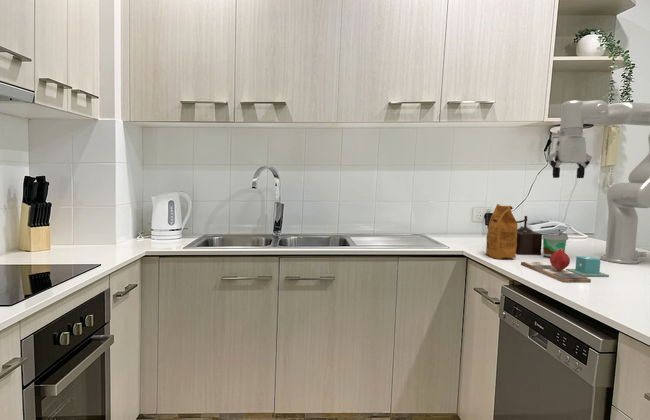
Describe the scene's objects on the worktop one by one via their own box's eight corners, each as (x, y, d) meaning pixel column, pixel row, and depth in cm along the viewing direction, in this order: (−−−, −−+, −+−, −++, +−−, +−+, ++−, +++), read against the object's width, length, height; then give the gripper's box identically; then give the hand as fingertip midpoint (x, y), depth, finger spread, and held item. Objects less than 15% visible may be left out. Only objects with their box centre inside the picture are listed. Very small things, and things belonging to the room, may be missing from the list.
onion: (545, 269, 136) (546, 246, 136) (561, 269, 137) (562, 246, 136) (556, 273, 131) (558, 249, 130) (572, 273, 131) (574, 249, 130)
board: (543, 264, 149) (544, 261, 149) (590, 282, 124) (591, 278, 124) (520, 264, 149) (521, 261, 149) (563, 282, 124) (563, 278, 124)
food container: (555, 260, 158) (557, 235, 157) (541, 257, 163) (542, 233, 162) (573, 257, 163) (575, 234, 163) (559, 255, 169) (560, 232, 168)
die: (589, 270, 138) (590, 256, 138) (599, 273, 133) (600, 259, 133) (575, 270, 138) (576, 256, 138) (584, 273, 133) (585, 259, 133)
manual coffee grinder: (529, 250, 179) (531, 211, 178) (541, 255, 168) (544, 213, 166) (495, 249, 180) (497, 211, 178) (505, 254, 169) (507, 213, 167)
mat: (589, 270, 141) (589, 268, 141) (608, 276, 132) (609, 275, 132) (565, 270, 140) (565, 268, 140) (583, 276, 131) (583, 275, 131)
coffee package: (505, 254, 169) (508, 203, 168) (518, 260, 157) (521, 205, 155) (482, 253, 170) (484, 203, 168) (494, 259, 157) (496, 205, 155)
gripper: (555, 132, 147) (552, 177, 148) (599, 133, 147) (596, 178, 149) (543, 134, 154) (540, 177, 156) (585, 135, 155) (582, 178, 156)
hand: (568, 177), depth 152 cm, fingers open, 9 cm apart
